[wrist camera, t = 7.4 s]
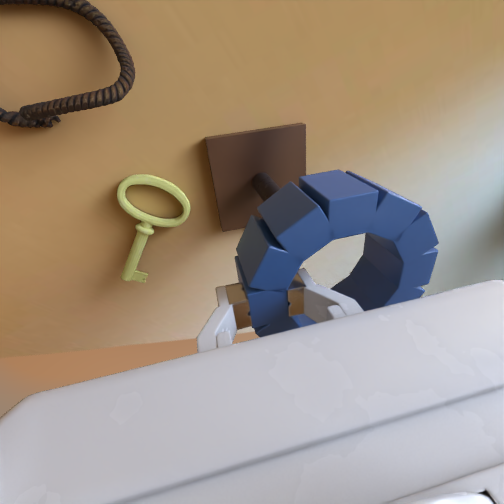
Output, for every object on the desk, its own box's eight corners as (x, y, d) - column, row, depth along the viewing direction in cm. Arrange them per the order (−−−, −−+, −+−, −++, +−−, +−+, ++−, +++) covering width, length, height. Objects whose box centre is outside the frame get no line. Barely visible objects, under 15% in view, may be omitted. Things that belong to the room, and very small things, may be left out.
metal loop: (-83, 119, 19) (-149, -89, 14) (-27, 112, 24) (-63, -49, 19) (124, 161, 22) (127, -1, 17) (139, 147, 27) (145, 16, 22)
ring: (406, 156, 16) (461, 174, 12) (381, 297, 21) (415, 333, 18) (223, 190, 14) (234, 219, 11) (247, 330, 20) (259, 375, 17)
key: (123, 274, 33) (119, 285, 32) (117, 170, 28) (112, 176, 26) (185, 275, 35) (185, 285, 33) (192, 178, 29) (192, 184, 28)
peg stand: (301, 122, 29) (355, 140, 20) (302, 211, 34) (345, 258, 25) (204, 137, 28) (215, 163, 19) (221, 227, 33) (236, 281, 24)
